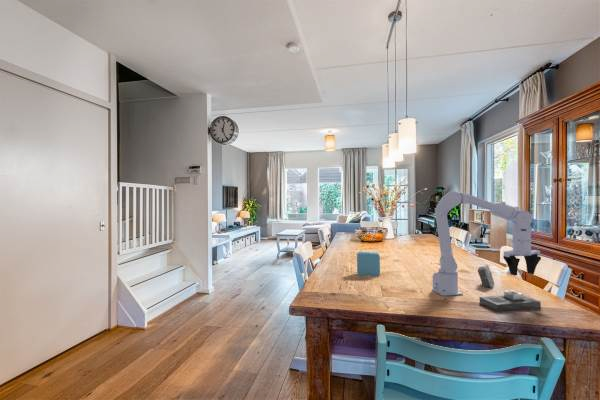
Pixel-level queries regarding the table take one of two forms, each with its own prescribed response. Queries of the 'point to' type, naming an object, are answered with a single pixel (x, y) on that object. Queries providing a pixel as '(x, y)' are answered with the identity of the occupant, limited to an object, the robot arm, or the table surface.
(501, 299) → the dark grey flat block
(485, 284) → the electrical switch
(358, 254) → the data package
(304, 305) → the table surface
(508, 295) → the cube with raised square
